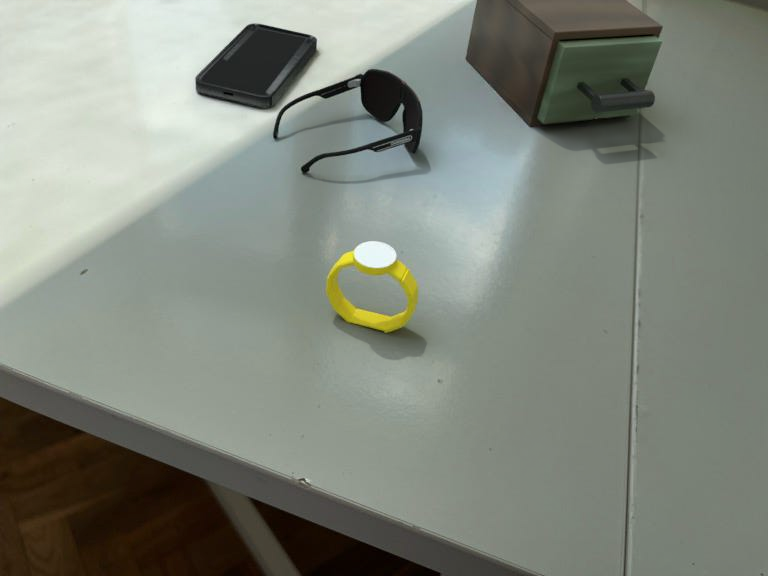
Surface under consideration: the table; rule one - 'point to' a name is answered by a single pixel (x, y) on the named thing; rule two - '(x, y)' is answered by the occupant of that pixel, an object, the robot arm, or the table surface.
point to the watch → (374, 262)
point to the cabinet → (541, 41)
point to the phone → (257, 65)
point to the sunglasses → (374, 109)
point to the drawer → (599, 78)
